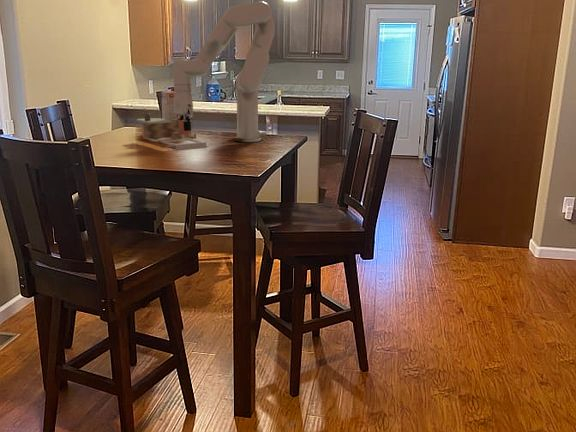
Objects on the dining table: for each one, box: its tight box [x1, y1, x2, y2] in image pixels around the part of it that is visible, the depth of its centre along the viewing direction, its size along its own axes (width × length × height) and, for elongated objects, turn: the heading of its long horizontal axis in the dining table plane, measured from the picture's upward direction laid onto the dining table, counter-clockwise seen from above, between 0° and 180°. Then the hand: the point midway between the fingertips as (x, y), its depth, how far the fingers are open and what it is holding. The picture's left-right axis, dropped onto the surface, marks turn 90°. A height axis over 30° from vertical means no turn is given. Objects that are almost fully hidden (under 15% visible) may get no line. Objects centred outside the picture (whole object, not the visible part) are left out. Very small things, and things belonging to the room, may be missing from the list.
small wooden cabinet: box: [141, 119, 200, 145], centre depth 249 cm, size 22×13×9 cm, turn 129°
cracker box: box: [160, 90, 178, 120], centre depth 264 cm, size 14×6×21 cm, turn 22°
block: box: [178, 120, 192, 134], centre depth 250 cm, size 4×4×7 cm
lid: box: [136, 112, 171, 124], centre depth 242 cm, size 10×13×4 cm
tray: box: [160, 138, 207, 151], centre depth 236 cm, size 14×14×2 cm
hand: (184, 129), depth 251 cm, fingers closed on block, 4 cm apart
